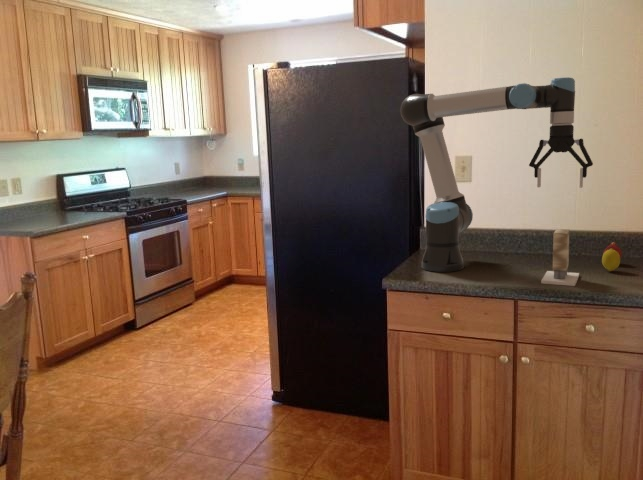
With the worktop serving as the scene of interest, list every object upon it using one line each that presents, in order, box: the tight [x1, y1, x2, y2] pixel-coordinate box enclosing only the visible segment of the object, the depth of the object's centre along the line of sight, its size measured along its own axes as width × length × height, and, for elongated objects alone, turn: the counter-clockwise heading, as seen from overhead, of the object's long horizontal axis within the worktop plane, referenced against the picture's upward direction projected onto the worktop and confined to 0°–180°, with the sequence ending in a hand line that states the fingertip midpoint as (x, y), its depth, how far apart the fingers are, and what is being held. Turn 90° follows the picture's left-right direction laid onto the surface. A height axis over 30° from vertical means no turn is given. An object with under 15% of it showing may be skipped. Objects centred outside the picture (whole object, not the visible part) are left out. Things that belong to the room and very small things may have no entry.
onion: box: [603, 242, 623, 259], centre depth 211 cm, size 6×6×8 cm
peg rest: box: [540, 268, 580, 287], centre depth 192 cm, size 10×14×4 cm
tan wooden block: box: [551, 228, 570, 271], centre depth 191 cm, size 4×8×12 cm, turn 152°
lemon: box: [601, 248, 621, 273], centre depth 200 cm, size 6×6×8 cm
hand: (559, 187), depth 204 cm, fingers open, 13 cm apart
